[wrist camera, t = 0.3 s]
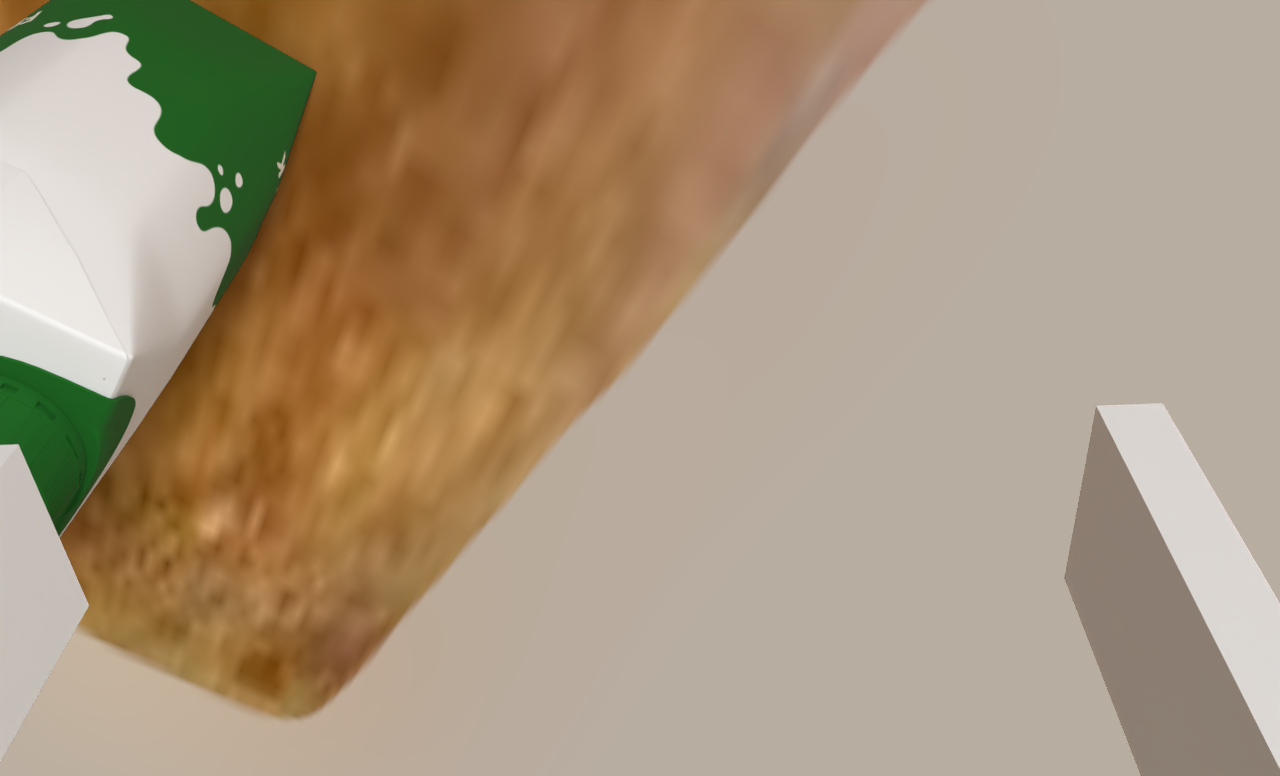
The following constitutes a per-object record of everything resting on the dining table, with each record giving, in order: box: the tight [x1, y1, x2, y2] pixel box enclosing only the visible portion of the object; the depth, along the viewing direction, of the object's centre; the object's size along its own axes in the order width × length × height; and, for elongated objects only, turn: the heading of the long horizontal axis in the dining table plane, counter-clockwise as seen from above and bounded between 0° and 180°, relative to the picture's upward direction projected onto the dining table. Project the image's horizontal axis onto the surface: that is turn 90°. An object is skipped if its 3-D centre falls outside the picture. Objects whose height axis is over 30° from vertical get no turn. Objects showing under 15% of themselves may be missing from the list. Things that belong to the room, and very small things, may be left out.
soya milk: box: [0, 0, 316, 538], centre depth 33 cm, size 9×9×20 cm
